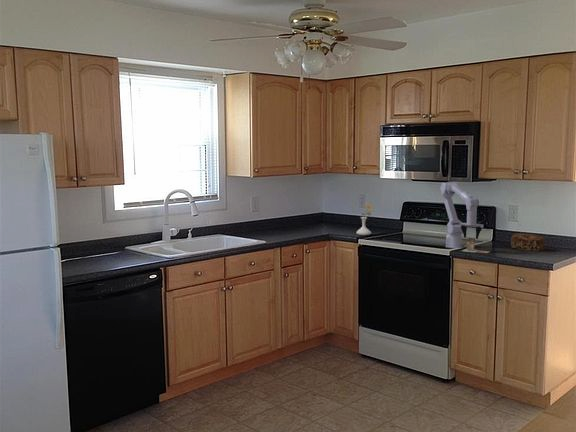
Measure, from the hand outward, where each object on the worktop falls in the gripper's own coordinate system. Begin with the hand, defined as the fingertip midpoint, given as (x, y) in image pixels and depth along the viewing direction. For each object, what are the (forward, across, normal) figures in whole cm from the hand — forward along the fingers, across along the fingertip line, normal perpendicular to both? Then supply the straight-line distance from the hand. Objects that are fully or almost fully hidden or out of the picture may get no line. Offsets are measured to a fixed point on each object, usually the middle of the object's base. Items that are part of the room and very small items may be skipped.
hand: (470, 238), depth 354 cm
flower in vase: (+9, -91, +24) cm, 94 cm away
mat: (+9, 0, 0) cm, 9 cm away
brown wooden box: (+8, 0, 0) cm, 8 cm away
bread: (+9, +27, +31) cm, 42 cm away
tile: (+9, +8, +4) cm, 13 cm away
